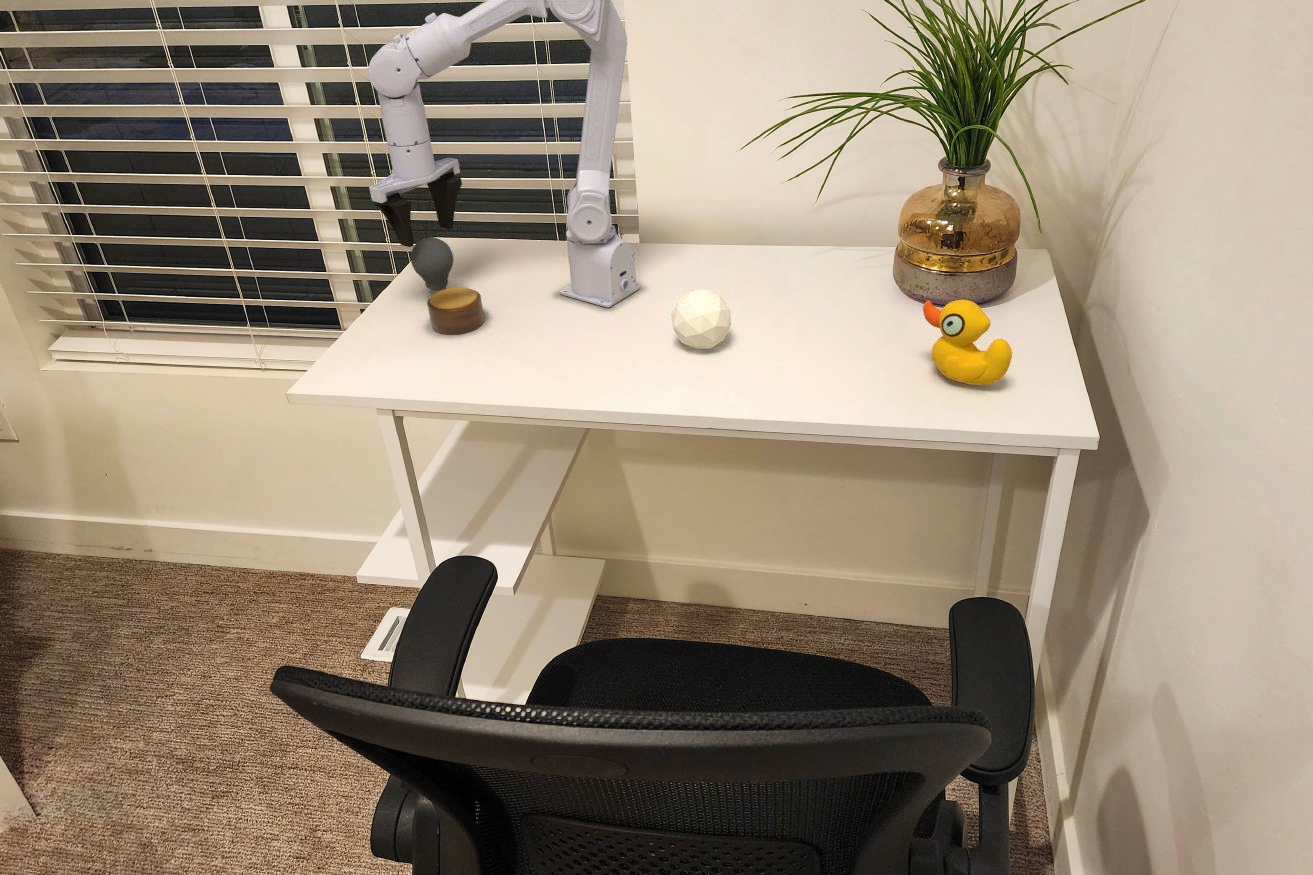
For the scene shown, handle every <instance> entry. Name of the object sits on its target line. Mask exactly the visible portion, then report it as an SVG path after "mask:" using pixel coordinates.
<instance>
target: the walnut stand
mask: <svg viewBox="0 0 1313 875" xmlns="http://www.w3.org/2000/svg"><path fill="white" fill-rule="evenodd" d="M426 305H427V310H428V316H429V320H430V324H431V328H432V330H433V331H434V332H435V333H438V334H441V335H448V336H458V335H462V334H463V335H464V334H467V333H470V332H473V331H475V330H477V329H479V328H480V327H482V326H483V325H484V323H485V314H484V313H485V312H484V307H483V301H482V295H481V293H480V292H479V291H477V290H475V289H472V288H469V287H462V286H461V287H460V286H459V287H450V288H447V289H445V290H442V291H439V292H437V293H435V294H434V295H433V296H431V295H430V297H429V298H428V299H427V302H426Z"/></svg>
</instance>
